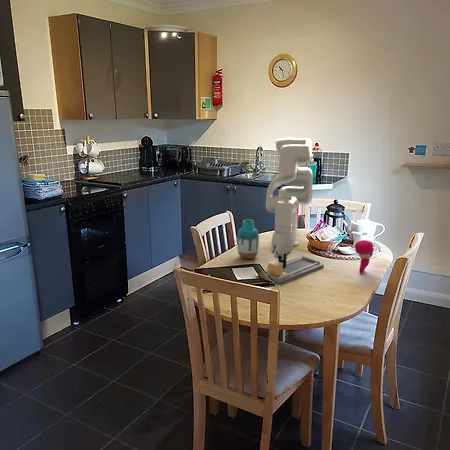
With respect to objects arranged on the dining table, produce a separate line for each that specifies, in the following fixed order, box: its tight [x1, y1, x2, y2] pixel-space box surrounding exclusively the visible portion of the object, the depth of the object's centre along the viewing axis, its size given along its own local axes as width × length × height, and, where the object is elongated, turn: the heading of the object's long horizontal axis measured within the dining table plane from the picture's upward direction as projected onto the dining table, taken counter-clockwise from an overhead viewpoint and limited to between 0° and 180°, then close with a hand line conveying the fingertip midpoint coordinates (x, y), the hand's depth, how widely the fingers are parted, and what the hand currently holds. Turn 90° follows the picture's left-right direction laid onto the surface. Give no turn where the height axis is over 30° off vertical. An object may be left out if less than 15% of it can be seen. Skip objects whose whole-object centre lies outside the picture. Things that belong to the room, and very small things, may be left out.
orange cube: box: [267, 259, 283, 276], centre depth 189 cm, size 4×5×5 cm
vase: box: [236, 219, 260, 260], centre depth 212 cm, size 11×11×19 cm
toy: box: [354, 239, 374, 274], centre depth 194 cm, size 8×8×15 cm
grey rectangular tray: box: [263, 255, 325, 286], centre depth 197 cm, size 31×14×3 cm, turn 131°
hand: (282, 267), depth 192 cm, fingers closed
